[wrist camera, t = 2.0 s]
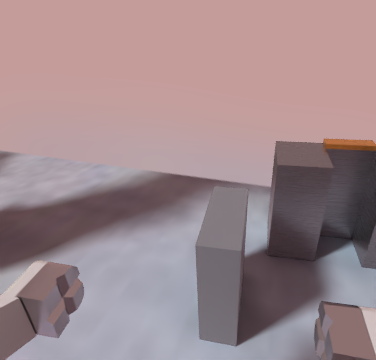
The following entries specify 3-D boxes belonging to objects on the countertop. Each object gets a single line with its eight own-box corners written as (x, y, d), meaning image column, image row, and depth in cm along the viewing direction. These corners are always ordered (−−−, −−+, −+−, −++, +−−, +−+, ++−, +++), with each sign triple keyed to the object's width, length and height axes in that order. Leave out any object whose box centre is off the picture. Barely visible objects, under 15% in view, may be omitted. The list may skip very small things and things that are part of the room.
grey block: (199, 339, 24) (195, 245, 20) (214, 268, 31) (214, 186, 27) (236, 346, 24) (241, 250, 19) (243, 272, 31) (248, 188, 26)
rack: (267, 255, 33) (278, 159, 27) (267, 222, 38) (276, 136, 32) (415, 273, 29) (460, 169, 24) (393, 235, 35) (427, 142, 29)
